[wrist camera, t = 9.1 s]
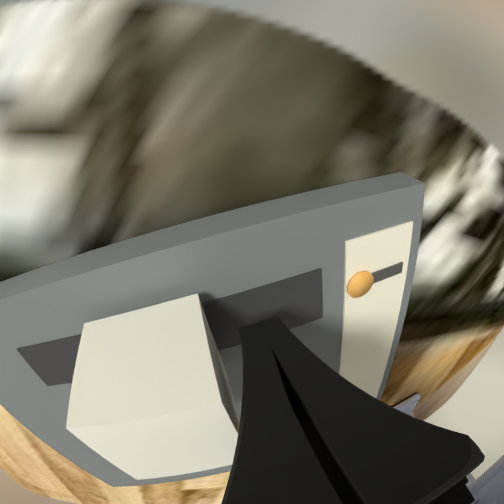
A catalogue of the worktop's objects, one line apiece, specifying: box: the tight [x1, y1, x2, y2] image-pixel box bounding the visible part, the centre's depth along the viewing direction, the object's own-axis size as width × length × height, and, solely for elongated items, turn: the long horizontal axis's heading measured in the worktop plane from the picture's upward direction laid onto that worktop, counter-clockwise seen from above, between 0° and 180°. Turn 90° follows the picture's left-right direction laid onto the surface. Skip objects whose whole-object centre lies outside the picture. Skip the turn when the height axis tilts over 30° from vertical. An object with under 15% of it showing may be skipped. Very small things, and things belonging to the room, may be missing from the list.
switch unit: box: [0, 172, 425, 487], centre depth 14 cm, size 19×22×2 cm
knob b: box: [66, 293, 240, 480], centre depth 8 cm, size 4×4×4 cm
